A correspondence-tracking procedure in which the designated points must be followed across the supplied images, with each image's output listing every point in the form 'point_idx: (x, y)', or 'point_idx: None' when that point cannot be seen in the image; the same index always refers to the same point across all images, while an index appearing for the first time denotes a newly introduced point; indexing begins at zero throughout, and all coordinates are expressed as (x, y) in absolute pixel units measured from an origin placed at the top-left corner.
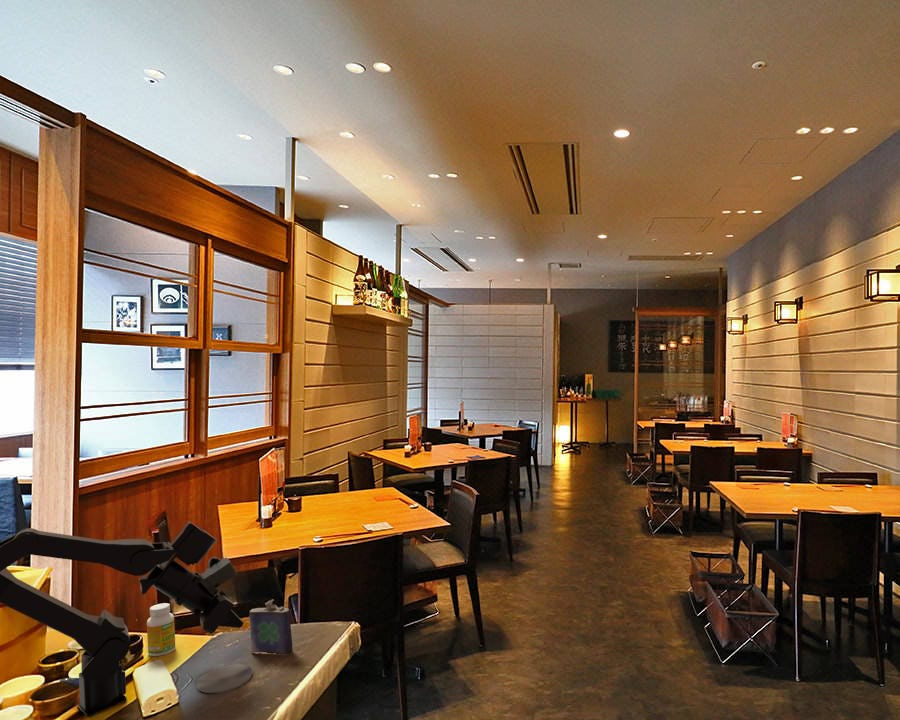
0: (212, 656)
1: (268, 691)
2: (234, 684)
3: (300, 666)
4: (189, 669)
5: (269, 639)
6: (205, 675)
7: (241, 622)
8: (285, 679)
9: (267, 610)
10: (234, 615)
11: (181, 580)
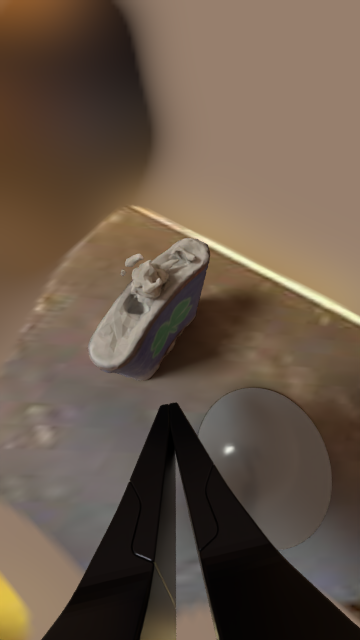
0: (91, 488)
1: (345, 362)
2: (315, 434)
3: (259, 297)
4: None
5: (170, 332)
6: None
7: (182, 412)
8: (303, 327)
9: (155, 299)
10: (212, 462)
11: None
